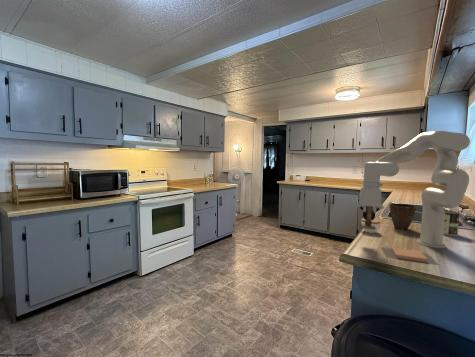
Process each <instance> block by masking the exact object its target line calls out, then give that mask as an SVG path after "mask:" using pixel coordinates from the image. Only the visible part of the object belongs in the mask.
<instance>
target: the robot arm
mask: <svg viewBox="0 0 475 357" xmlns="http://www.w3.org/2000/svg"><path fill="white" fill-rule="evenodd" d="M470 144H471V139H470V137H469V136H468V135H467V134H465V133H461V132H454V131H446V130H432V131H425V132H421V133H420V134H418V135H417V136H415V137H414V138H412V139H411V140H410V141H408V142H407V143H406V144H404V145H403V146H401V147H400V148H399V147H398V148H397V149H395V150H393V151H391V152H390V153H386V154H385V155H383V156H382V157H380V158H379V159H378V160H376V161H368V162H365V164H364V167H363V168H364V169H363V170H364V171H363V182H362V183H363V184H362V187H360V192H359V196H358V201H357V202H356V204H355V206H356V207H357V208H359V209H360V210H361V211H362V218H364V219H366V206H367V207H373V211H372V220H374V219H376V214H377V213H378V212H379V211H380V210H381V211H382V210H383V209H384V208H385V207H384V205H383V203H382V189H381V188H380V187H384V184H383V183H381V182H380V181H381V176H382V177H395V176H396V175H397V174H398V173H399V171H400V167H399V166H398V164H402V163H407V162H410V161H413V160H415V159H416V158H418V157H419V156H421V155H422V154H424V153H425V152H426V151H427V150H429V149H433V151H434V152H435V154H436V157H437V160H436V164H435V167H434V169H433V172H432V175H431V178H430V179H431V182H432V184H433V185H435V186H439V187H434V186H433V187H427V188H425V189H423V191H422V192H421V196H420V198H421V202H422V211H421V212H422V214H421V222H420V236H419V238H417V239H416V241H415V242H416V243H417V244H419V245H422V246H426V247H428V248H435V249H444V248H445V249H446V247H447V245H446V244H445V243H444V242H443V238H444V234H443V229H444V218H445V212H444V210H445V209H444V208H446V209H456V208H458V207H459V206H460V205H461V203H462V202H463V199H464V198H465V197H464V196H465V194H466V192H467V189H468V187H469V183H470V176H469V173H468V172H467V171H466V170H463V169H460V168H459V169H457V167H458V164H459V157H458V155H457V153H456V152H458V151H464V150H465V149H468V147H469V145H470ZM440 187H441V188H440ZM443 187H445V188H443Z"/></svg>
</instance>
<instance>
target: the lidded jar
mask: <svg viewBox="0 0 475 357" xmlns="http://www.w3.org/2000/svg"><path fill="white" fill-rule="evenodd" d="M360 221H361V222H360V224H361V223H365V219H364V217H362V218H361V219H360ZM372 224H374V225H375V227H376V228H375V230H373V229H365V228H362V230H363V231H364V232H365V233H368V232H369V234H375V233H376V232H378V231H379V230H380V225H381V220H379V219H377V218H375V219H374V220H372Z"/></svg>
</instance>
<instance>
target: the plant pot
mask: <svg viewBox="0 0 475 357" xmlns="http://www.w3.org/2000/svg"><path fill="white" fill-rule="evenodd" d="M416 210H417V206H415V205H411V204H408V203H405V204H404V203H389V212H390V218H391V222H392V225H393V227H394V228H395V229H396V228H398V229H397V230H400V229H408V230H409V229H410V226H411V224H412V222H413V219H414V217H415V213H416Z"/></svg>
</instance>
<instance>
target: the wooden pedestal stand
mask: <svg viewBox="0 0 475 357" xmlns="http://www.w3.org/2000/svg"><path fill="white" fill-rule="evenodd" d="M372 211H373V207H367V206H366V219H365V223H361V222H360V226H361V228H362V229H363V228H365V229H373V230H375V228H376V227H375V225H374V224H372Z"/></svg>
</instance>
